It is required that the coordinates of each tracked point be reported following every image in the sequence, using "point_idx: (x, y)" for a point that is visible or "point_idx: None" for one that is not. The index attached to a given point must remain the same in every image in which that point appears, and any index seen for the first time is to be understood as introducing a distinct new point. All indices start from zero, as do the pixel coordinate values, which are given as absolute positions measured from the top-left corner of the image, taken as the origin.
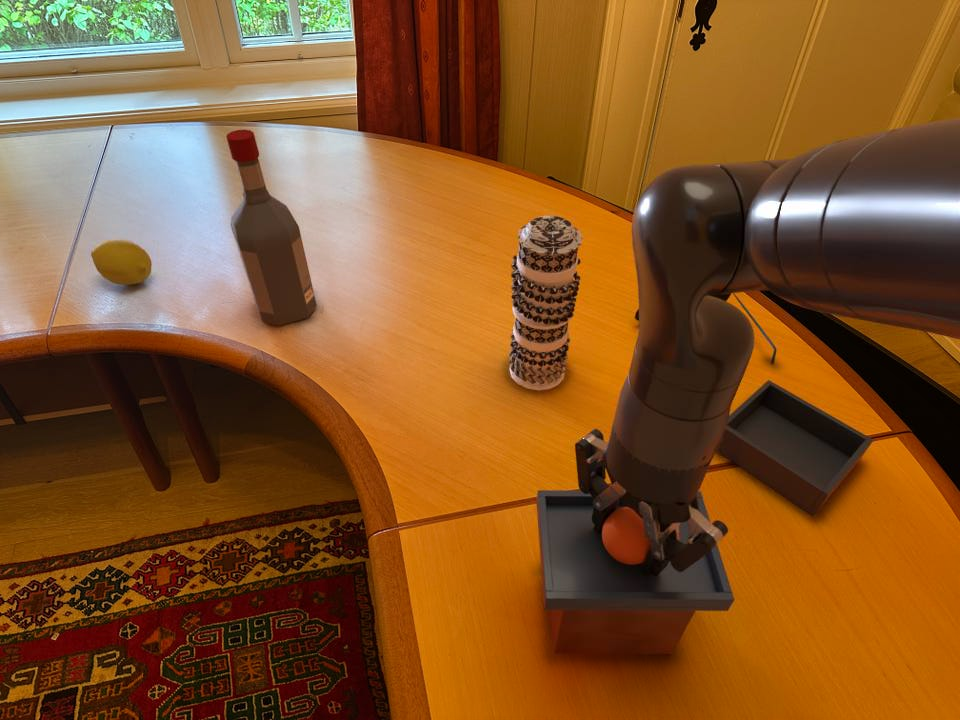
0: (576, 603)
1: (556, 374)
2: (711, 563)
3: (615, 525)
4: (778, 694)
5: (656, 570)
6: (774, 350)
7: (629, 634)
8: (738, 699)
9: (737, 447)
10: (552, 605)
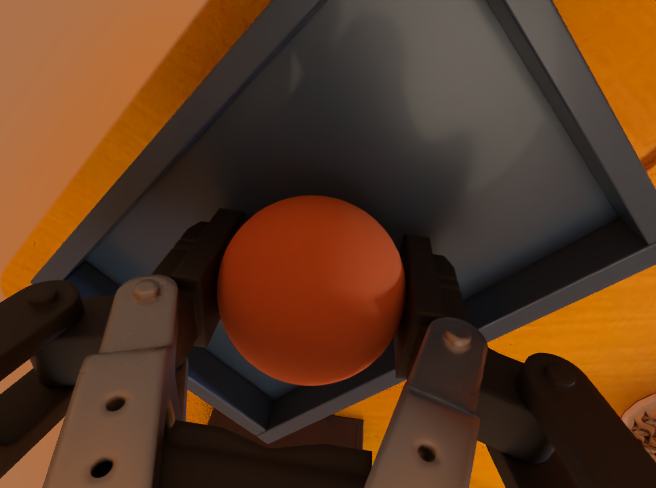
0: None
1: (643, 435)
2: None
3: (350, 302)
4: (98, 184)
5: (190, 238)
6: None
7: None
8: (123, 142)
9: (327, 443)
10: None
